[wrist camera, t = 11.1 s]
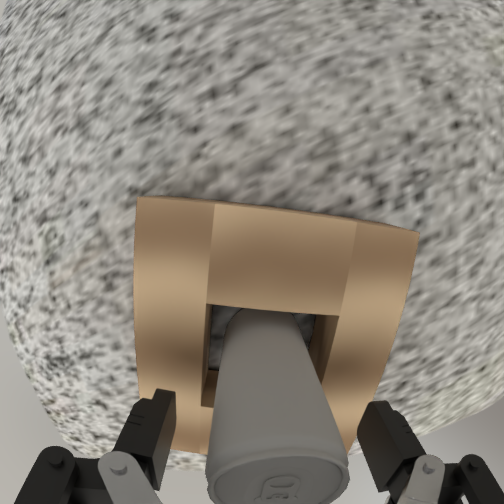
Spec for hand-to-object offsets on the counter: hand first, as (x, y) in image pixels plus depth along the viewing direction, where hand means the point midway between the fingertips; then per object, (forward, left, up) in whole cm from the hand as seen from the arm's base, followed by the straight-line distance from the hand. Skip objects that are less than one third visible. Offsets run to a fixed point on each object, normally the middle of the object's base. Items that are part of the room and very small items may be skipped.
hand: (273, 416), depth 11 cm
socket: (0, 0, -8) cm, 8 cm away
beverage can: (0, 0, -8) cm, 8 cm away
